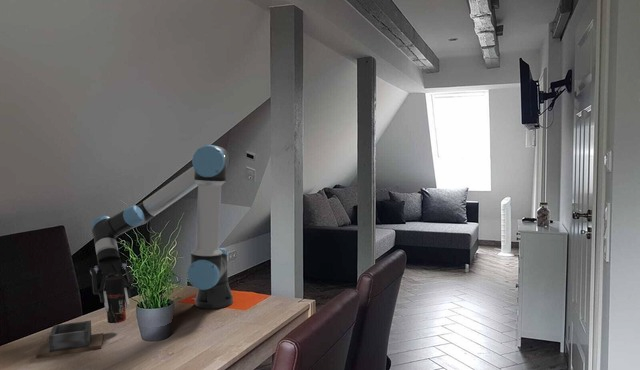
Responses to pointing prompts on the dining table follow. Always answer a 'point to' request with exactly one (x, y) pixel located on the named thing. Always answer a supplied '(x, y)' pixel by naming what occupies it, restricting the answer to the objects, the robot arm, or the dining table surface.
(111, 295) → the deodorant
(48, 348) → the holder
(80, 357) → the dining table surface
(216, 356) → the dining table surface
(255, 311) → the dining table surface
